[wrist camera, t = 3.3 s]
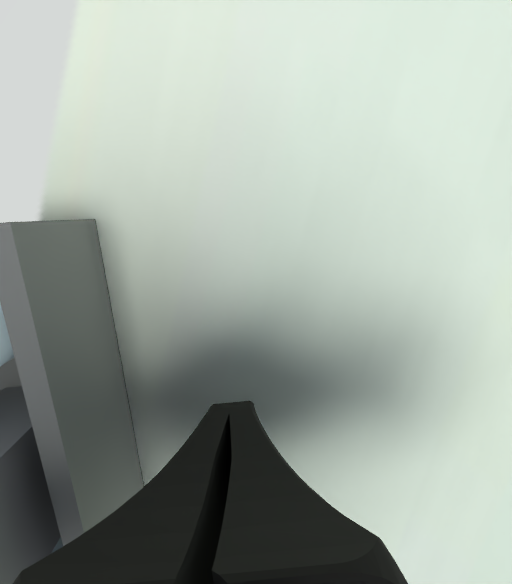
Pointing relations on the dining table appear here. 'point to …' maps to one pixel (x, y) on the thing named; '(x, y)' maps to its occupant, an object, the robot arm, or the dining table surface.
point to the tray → (58, 393)
